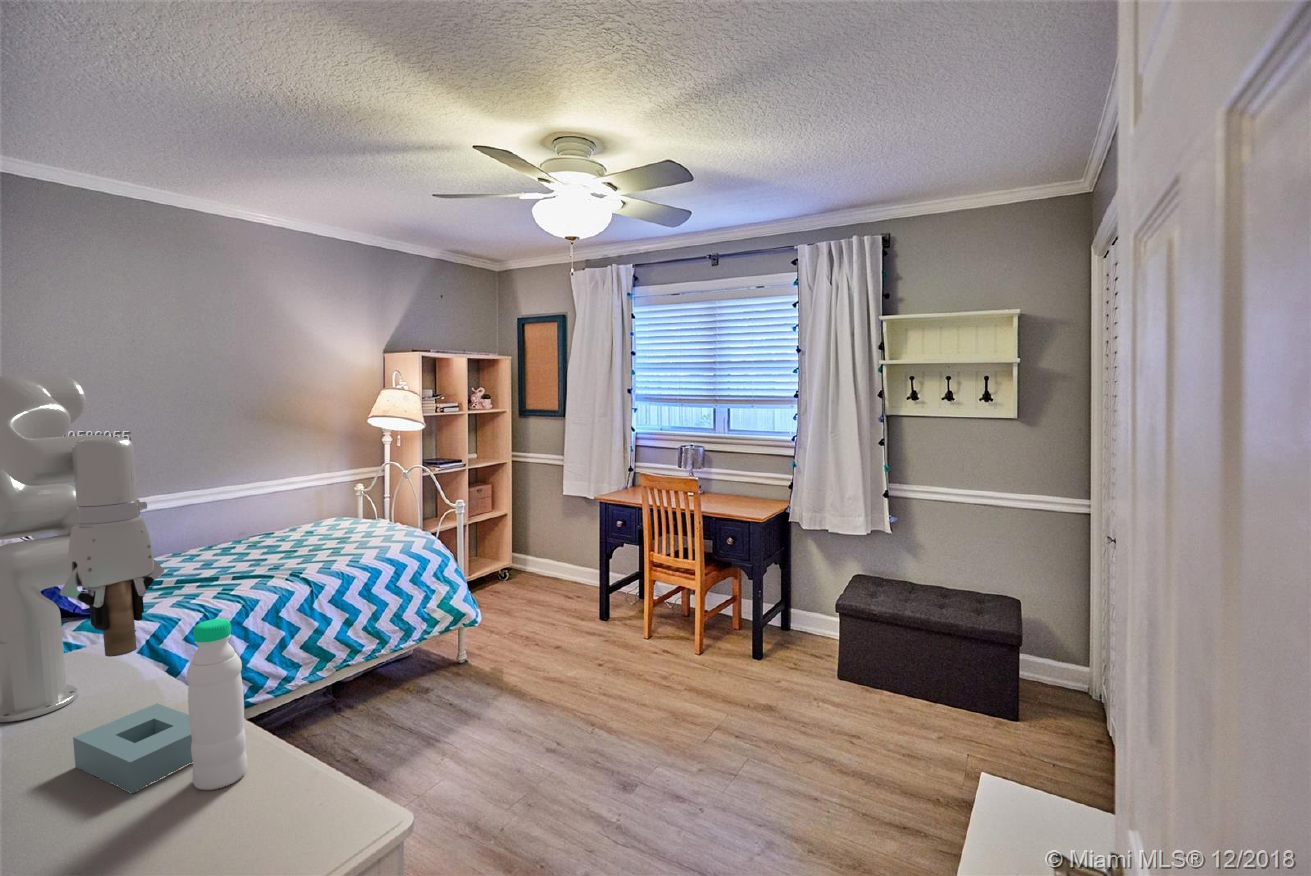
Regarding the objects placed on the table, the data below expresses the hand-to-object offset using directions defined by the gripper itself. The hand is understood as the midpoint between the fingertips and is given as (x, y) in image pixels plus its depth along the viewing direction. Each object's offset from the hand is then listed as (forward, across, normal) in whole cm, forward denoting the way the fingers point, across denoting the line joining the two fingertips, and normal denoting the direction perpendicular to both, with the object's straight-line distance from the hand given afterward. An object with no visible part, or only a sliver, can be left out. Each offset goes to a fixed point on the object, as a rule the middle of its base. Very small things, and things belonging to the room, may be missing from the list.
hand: (118, 623), depth 106 cm
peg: (+5, 0, 0) cm, 5 cm away
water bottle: (+23, -2, +21) cm, 31 cm away
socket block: (+22, 0, +5) cm, 23 cm away
